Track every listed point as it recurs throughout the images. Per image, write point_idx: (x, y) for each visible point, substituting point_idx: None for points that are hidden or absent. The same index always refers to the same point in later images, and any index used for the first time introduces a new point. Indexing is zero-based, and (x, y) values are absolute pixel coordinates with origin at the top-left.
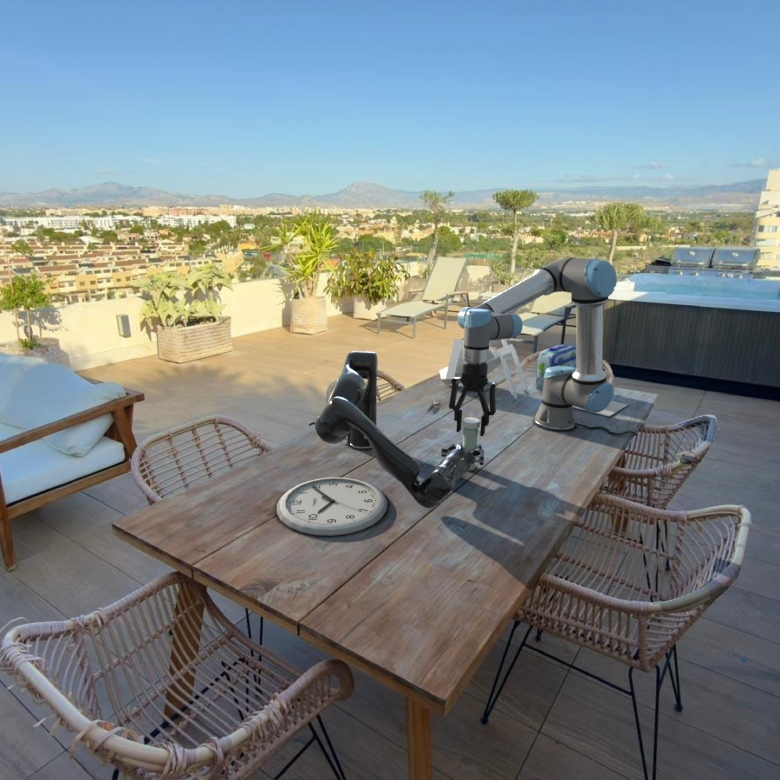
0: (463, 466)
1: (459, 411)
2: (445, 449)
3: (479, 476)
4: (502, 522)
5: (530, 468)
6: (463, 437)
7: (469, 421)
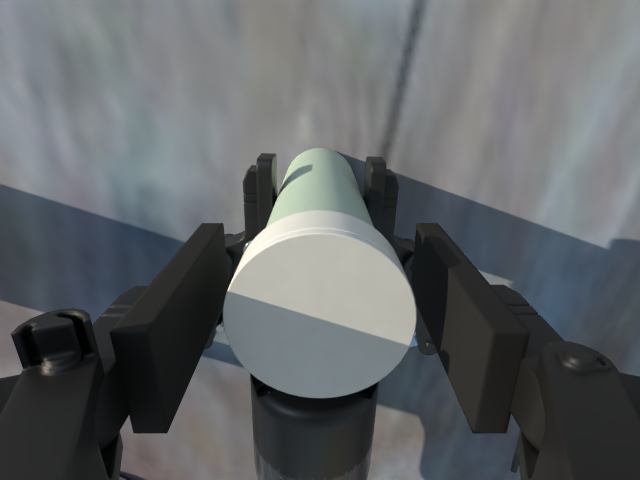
0: (367, 473)
1: (139, 397)
2: (212, 340)
3: None
4: (508, 475)
5: (635, 38)
6: None
7: (313, 365)
